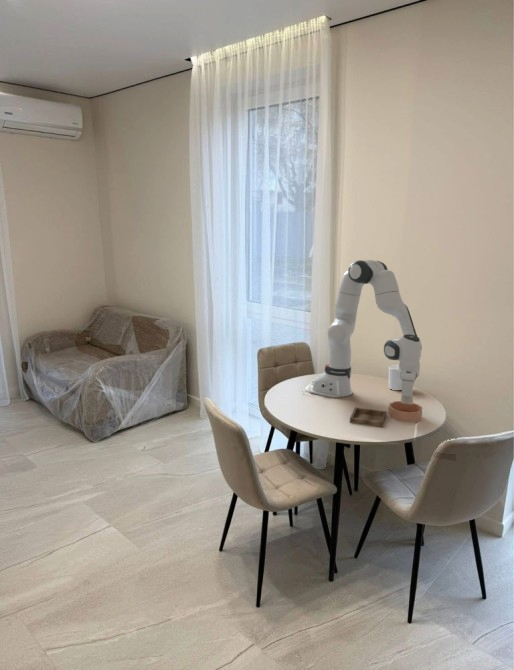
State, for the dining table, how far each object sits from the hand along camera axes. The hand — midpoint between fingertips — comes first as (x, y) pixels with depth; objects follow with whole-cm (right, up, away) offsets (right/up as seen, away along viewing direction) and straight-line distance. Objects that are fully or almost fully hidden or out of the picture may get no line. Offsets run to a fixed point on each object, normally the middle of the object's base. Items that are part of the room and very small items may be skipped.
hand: (406, 400), depth 222 cm
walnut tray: (-18, -9, -3) cm, 21 cm away
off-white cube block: (0, -1, 0) cm, 1 cm away
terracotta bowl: (0, -8, +2) cm, 8 cm away
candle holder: (+7, +1, +41) cm, 41 cm away
